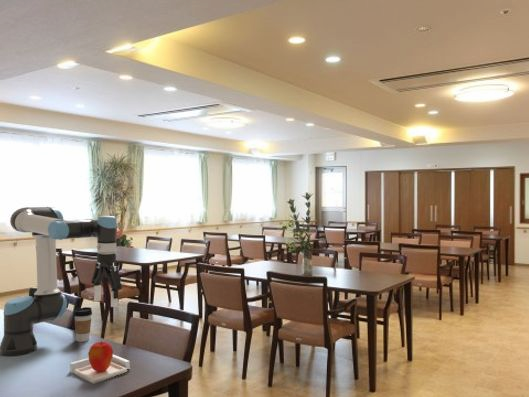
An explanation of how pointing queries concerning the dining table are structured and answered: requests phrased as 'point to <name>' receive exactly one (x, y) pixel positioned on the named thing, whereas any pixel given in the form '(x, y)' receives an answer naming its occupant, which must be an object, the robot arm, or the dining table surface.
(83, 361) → the pen walls
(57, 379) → the dining table surface
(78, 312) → the coffee cup
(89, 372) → the dish
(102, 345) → the apple
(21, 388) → the dining table surface
